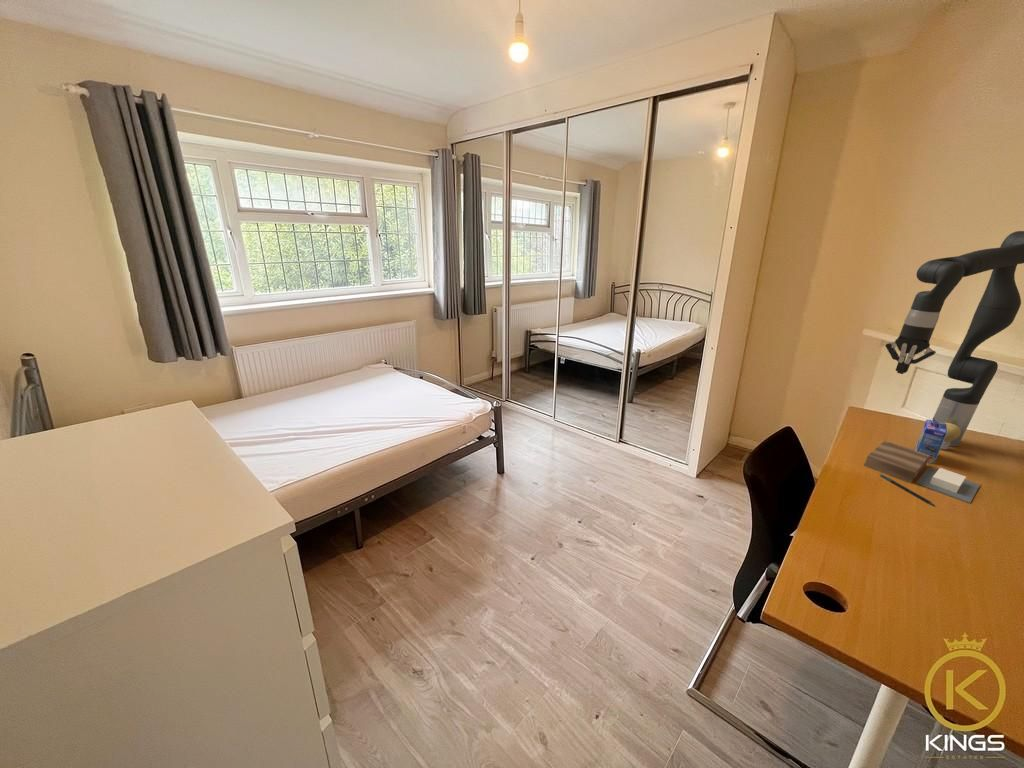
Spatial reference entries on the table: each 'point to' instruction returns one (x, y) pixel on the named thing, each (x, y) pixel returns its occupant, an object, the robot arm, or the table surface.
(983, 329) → the robot arm
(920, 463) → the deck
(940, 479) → the cream rectangular block
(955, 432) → the light bulb
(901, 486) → the pen
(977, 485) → the mat
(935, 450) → the ink cartridge box
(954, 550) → the table surface
